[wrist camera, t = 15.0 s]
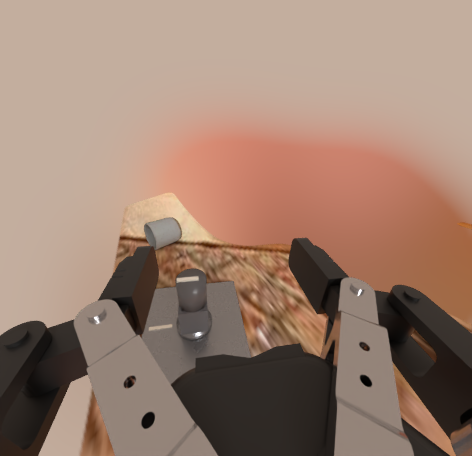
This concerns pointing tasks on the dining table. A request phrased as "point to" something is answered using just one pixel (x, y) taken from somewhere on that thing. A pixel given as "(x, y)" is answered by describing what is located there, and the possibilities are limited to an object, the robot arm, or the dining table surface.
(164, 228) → the ceramic mug
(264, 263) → the dining table surface
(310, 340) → the dining table surface
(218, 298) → the base plate
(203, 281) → the knob
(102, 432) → the dining table surface
